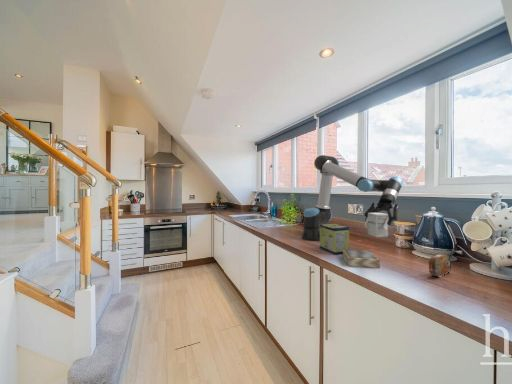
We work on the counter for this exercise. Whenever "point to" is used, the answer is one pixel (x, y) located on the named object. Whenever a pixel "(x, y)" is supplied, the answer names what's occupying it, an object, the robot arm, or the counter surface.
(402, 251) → the counter surface
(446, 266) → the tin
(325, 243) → the protein box
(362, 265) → the brown shallow tray
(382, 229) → the supplement box
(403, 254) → the counter surface
